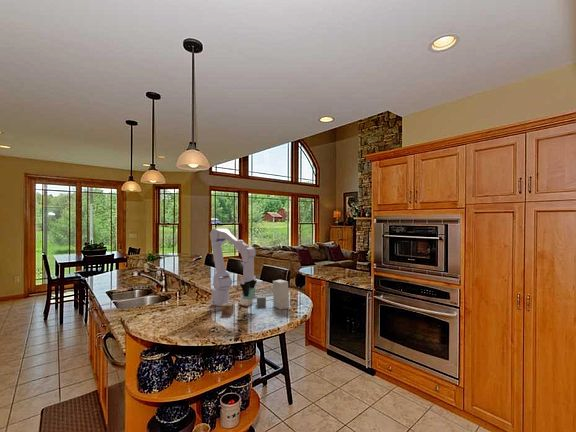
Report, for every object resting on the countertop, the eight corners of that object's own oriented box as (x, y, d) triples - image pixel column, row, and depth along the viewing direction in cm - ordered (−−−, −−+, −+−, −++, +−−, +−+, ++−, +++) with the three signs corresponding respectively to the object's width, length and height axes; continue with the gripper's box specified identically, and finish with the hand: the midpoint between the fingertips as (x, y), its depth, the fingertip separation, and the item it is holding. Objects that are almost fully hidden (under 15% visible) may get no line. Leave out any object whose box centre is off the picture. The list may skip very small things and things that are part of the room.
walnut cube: (221, 315, 154) (221, 305, 154) (224, 312, 159) (224, 302, 159) (231, 315, 153) (231, 305, 153) (233, 312, 158) (233, 303, 158)
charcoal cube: (256, 306, 169) (256, 297, 169) (257, 304, 174) (257, 295, 174) (265, 306, 169) (265, 297, 169) (265, 304, 174) (265, 295, 174)
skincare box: (289, 308, 166) (289, 281, 166) (280, 310, 162) (280, 282, 162) (281, 304, 173) (281, 278, 173) (272, 306, 169) (272, 280, 169)
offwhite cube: (240, 304, 173) (240, 296, 173) (245, 302, 177) (245, 294, 177) (247, 306, 170) (247, 297, 170) (252, 304, 174) (252, 295, 175)
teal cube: (242, 298, 159) (242, 289, 160) (246, 296, 164) (246, 287, 164) (250, 299, 158) (250, 290, 158) (254, 297, 162) (254, 288, 163)
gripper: (249, 272, 153) (248, 299, 153) (261, 268, 167) (260, 292, 166) (236, 271, 155) (236, 297, 155) (249, 267, 169) (249, 291, 169)
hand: (248, 295), depth 161 cm, fingers closed on teal cube, 5 cm apart
